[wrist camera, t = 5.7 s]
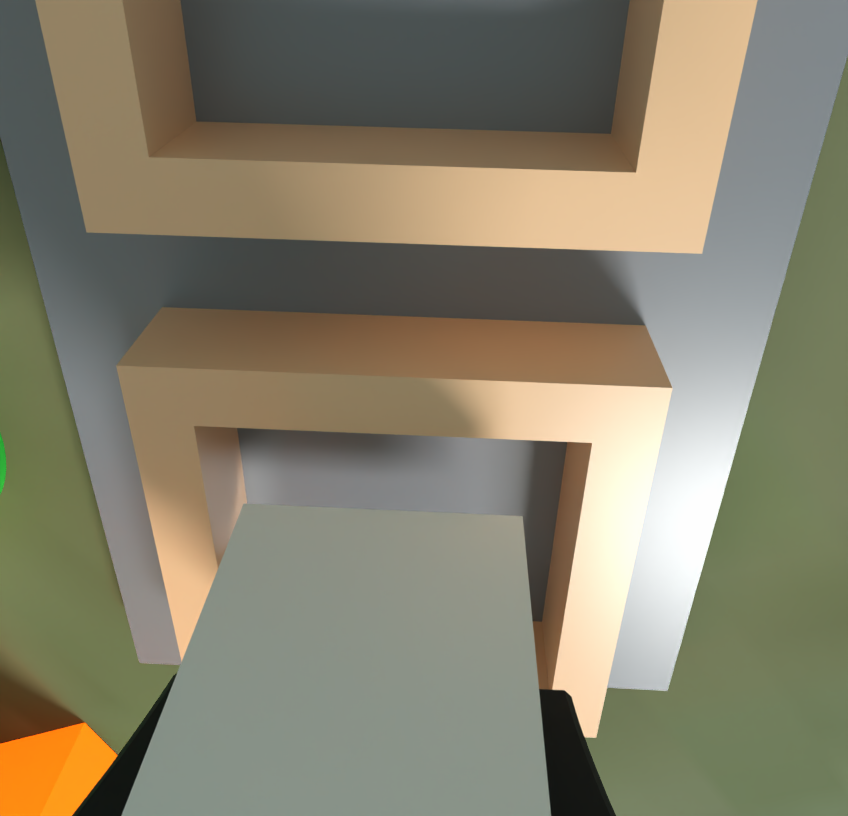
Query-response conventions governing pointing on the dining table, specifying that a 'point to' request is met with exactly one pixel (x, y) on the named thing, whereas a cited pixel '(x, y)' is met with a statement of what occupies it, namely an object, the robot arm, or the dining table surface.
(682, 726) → the dining table surface
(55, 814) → the orange juice
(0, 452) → the mechanical part
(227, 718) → the grey-green rectangular block
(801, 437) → the dining table surface
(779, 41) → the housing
